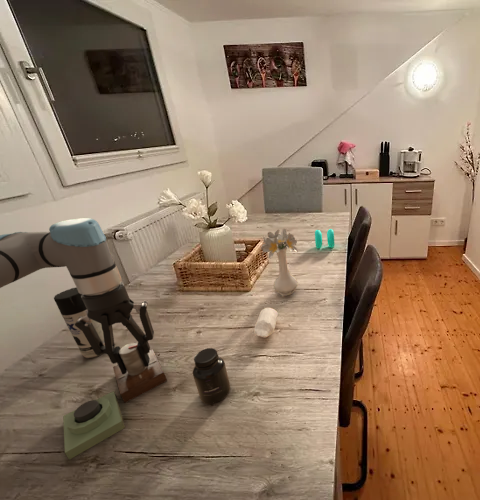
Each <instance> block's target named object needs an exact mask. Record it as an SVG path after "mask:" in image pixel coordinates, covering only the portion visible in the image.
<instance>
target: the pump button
mask: <svg viewBox="0 0 480 500" xmlns="http://www.w3.org/2000/svg"><path fill="white" fill-rule="evenodd" d="M100 411H101V406H100V405H99V403H98V401H96V399H92V400H88V401H86V402H84V403H82V404H81V405H79V406H78V407H77V408H76V409H75V412H74V417H75V419H76V420H77V422H79V423H83V422H87V421H88V420H90V419H92V418H94V417H95V416H96V415H97V414H98V413H99V412H100Z"/></svg>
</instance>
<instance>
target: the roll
mask: <svg viewBox="0 0 480 500" xmlns="http://www.w3.org/2000/svg"><path fill="white" fill-rule="evenodd" d="M278 317H279V313H278V310H276V309H275V308H272V307H265V308H262V309H261V310H260V312H259V315H258V317H257V320H256V322H255V325H254V329H253V334H254V335H255V336H256V337H261V338H268V337H269V336H271V335H273V334H274V333H275V329H276V324H277V322H278Z"/></svg>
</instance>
